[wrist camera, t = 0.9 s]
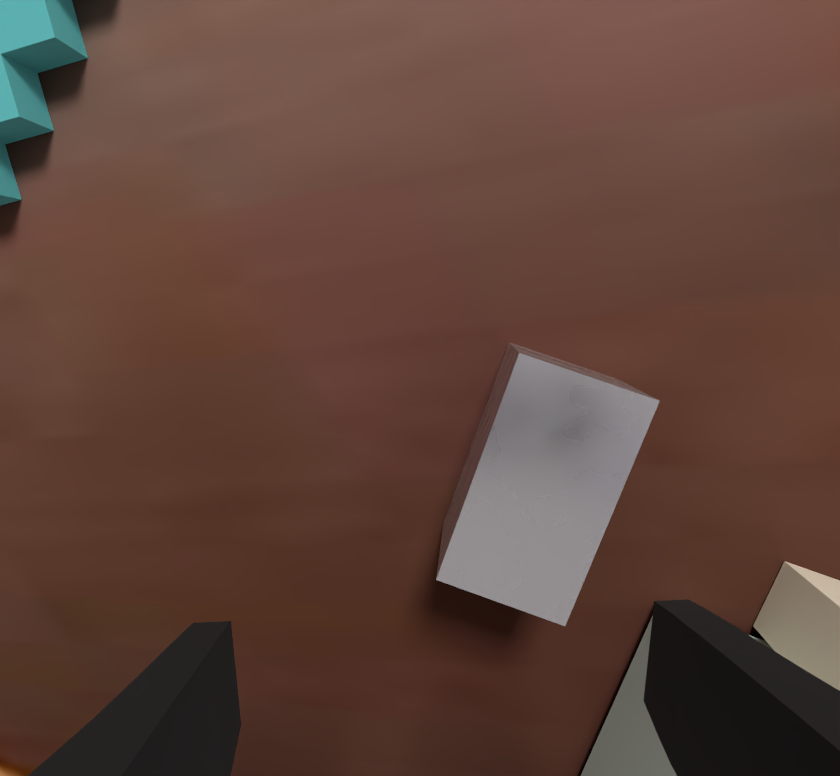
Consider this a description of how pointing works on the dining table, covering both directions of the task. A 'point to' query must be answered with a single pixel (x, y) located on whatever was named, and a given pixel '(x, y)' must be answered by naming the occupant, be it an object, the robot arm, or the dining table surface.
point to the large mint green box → (631, 728)
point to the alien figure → (30, 71)
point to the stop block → (541, 482)
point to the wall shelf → (804, 621)
